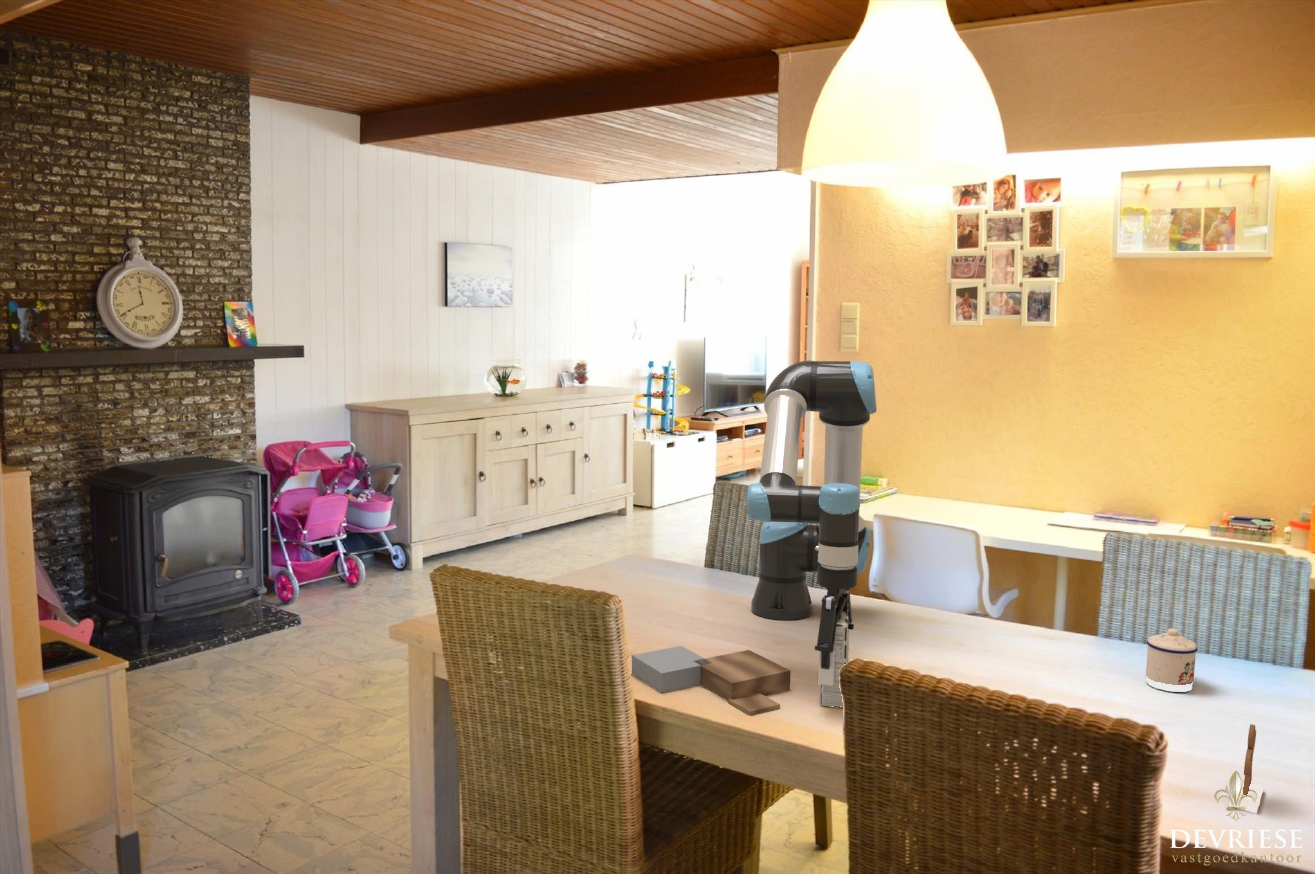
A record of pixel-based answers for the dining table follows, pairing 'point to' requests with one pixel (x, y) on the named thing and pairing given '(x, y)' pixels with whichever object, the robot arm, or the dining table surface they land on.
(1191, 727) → the dining table surface
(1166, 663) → the teacup with lid
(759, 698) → the tile
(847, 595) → the robot arm
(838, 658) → the candy bar box
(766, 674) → the walnut block
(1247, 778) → the gingerbread man figurine
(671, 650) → the slate grey block
